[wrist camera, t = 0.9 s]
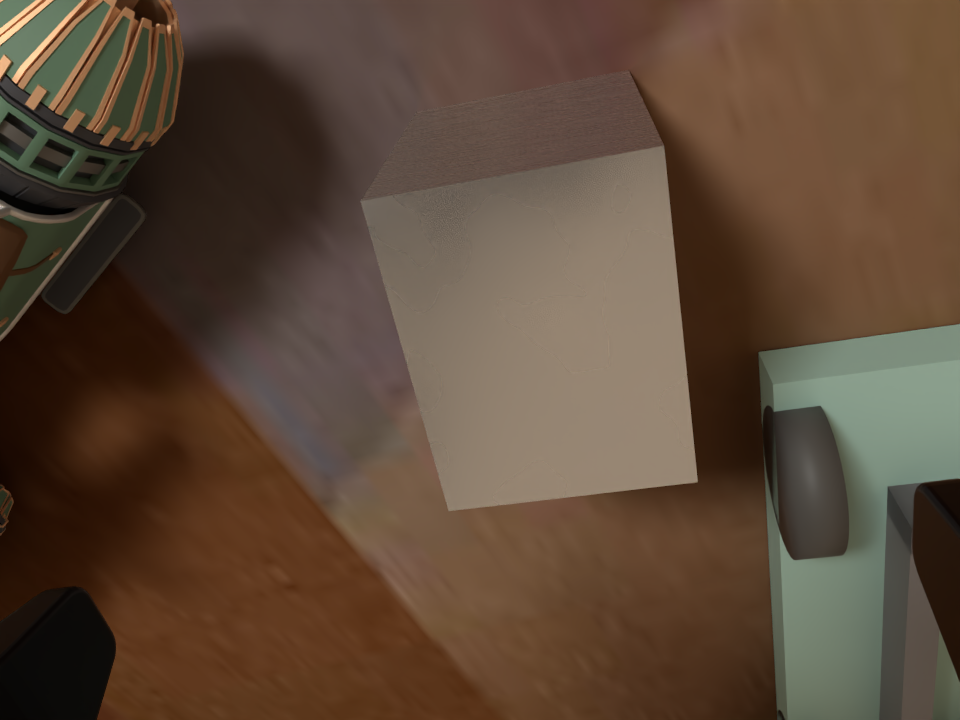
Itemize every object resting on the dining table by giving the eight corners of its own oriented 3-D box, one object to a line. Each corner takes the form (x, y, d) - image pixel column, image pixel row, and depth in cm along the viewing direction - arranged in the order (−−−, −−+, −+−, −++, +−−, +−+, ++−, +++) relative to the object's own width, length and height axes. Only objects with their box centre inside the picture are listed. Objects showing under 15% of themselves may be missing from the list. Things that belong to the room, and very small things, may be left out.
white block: (658, 326, 20) (697, 482, 14) (474, 354, 20) (448, 511, 15) (628, 69, 17) (664, 145, 12) (416, 111, 18) (360, 200, 12)
